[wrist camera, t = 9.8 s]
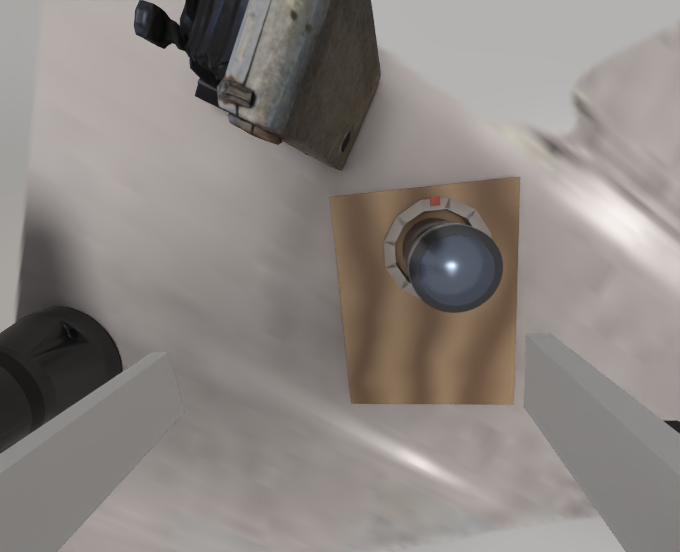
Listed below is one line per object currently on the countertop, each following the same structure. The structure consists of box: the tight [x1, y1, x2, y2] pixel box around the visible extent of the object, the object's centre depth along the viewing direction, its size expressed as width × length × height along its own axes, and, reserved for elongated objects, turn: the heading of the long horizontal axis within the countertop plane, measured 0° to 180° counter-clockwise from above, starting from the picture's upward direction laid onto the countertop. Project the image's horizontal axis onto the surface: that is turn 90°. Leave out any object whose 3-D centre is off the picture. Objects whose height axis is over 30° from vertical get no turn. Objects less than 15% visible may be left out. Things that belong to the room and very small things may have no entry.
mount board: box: [330, 177, 520, 405], centre depth 33 cm, size 18×24×4 cm
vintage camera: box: [134, 0, 381, 170], centre depth 23 cm, size 10×16×20 cm, turn 65°
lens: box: [402, 218, 503, 313], centre depth 26 cm, size 6×6×11 cm
